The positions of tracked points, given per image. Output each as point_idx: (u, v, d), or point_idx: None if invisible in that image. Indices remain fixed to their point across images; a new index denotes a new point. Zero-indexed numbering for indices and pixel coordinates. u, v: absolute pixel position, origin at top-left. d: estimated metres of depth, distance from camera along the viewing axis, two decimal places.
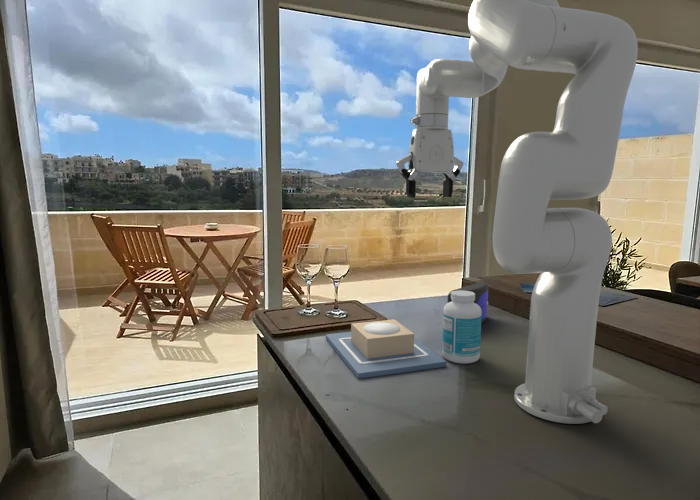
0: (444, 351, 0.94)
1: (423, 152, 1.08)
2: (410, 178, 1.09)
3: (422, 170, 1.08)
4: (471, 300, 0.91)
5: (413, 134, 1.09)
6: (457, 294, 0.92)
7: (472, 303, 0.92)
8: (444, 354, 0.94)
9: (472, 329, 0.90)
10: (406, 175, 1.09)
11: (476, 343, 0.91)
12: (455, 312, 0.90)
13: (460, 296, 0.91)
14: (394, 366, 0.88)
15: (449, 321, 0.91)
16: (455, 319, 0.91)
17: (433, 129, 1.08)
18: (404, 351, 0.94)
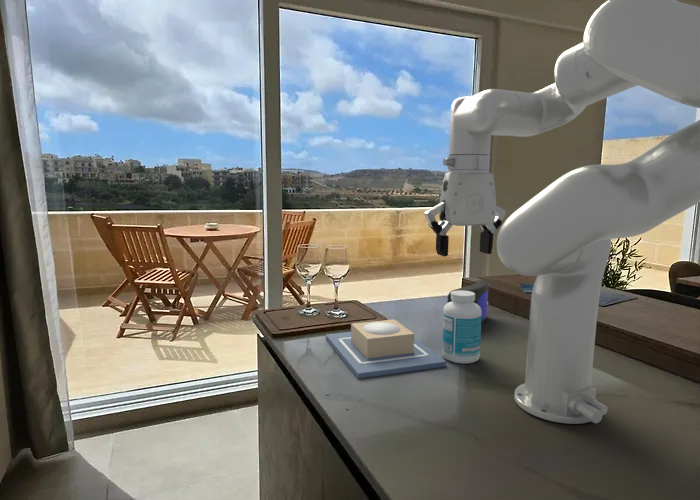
0: (444, 351, 0.94)
1: (458, 202, 0.87)
2: (442, 233, 0.88)
3: (457, 224, 0.87)
4: (471, 300, 0.91)
5: (446, 178, 0.88)
6: (457, 294, 0.92)
7: (472, 303, 0.92)
8: (444, 354, 0.94)
9: (472, 329, 0.90)
10: (437, 229, 0.88)
11: (476, 343, 0.91)
12: (455, 312, 0.90)
13: (460, 296, 0.91)
14: (394, 366, 0.88)
15: (449, 321, 0.91)
16: (455, 319, 0.91)
17: (471, 173, 0.87)
18: (404, 351, 0.94)
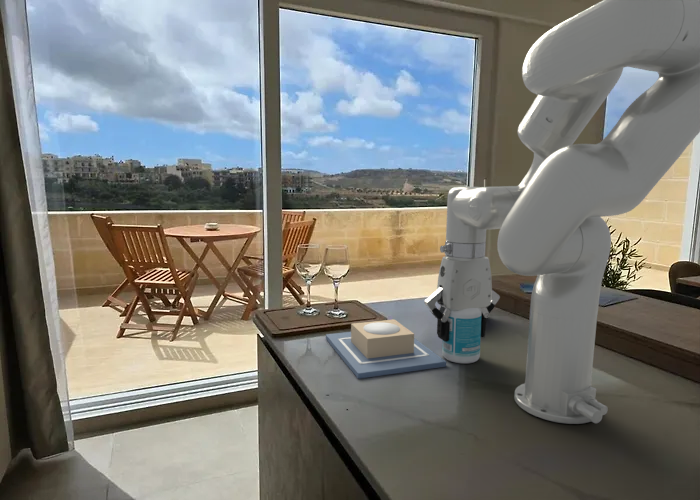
0: (444, 351, 0.94)
1: (455, 288, 0.89)
2: (443, 320, 0.91)
3: (454, 309, 0.90)
4: None
5: (443, 264, 0.91)
6: None
7: None
8: (444, 354, 0.94)
9: (472, 329, 0.90)
10: (438, 316, 0.91)
11: (476, 342, 0.91)
12: (455, 312, 0.90)
13: None
14: (394, 366, 0.88)
15: (449, 321, 0.91)
16: (455, 319, 0.91)
17: (468, 260, 0.89)
18: (404, 351, 0.94)
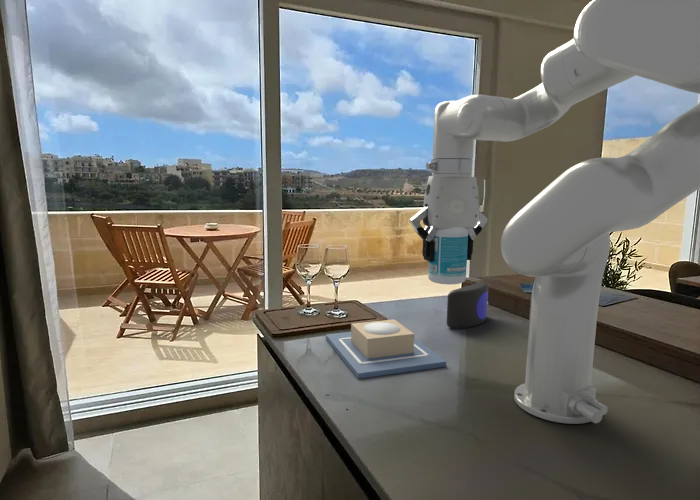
0: (429, 273, 0.92)
1: (440, 205, 0.87)
2: (428, 239, 0.89)
3: (439, 227, 0.88)
4: None
5: (429, 182, 0.89)
6: None
7: None
8: (429, 276, 0.92)
9: (457, 248, 0.89)
10: (423, 235, 0.90)
11: (461, 263, 0.90)
12: (441, 231, 0.89)
13: None
14: (394, 366, 0.88)
15: (435, 241, 0.90)
16: (441, 238, 0.89)
17: (454, 177, 0.87)
18: (404, 351, 0.94)
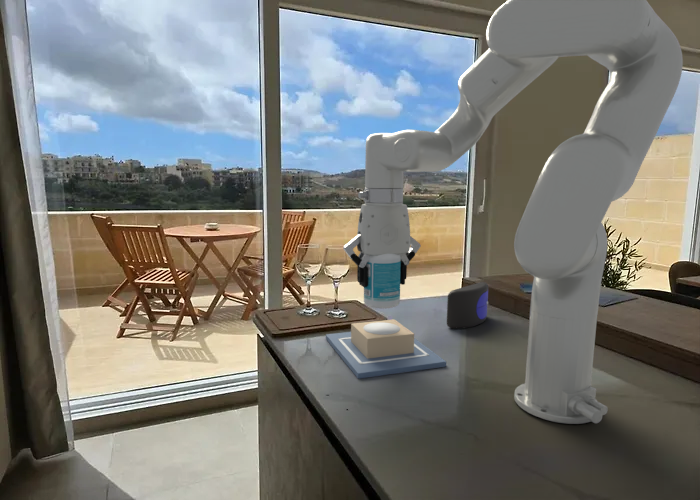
0: (364, 297, 0.95)
1: (372, 233, 0.91)
2: (361, 265, 0.92)
3: (371, 254, 0.91)
4: None
5: (361, 210, 0.92)
6: None
7: None
8: (364, 300, 0.95)
9: (389, 273, 0.92)
10: (356, 261, 0.93)
11: (393, 288, 0.93)
12: (373, 257, 0.92)
13: None
14: (394, 366, 0.88)
15: (368, 267, 0.93)
16: (373, 264, 0.92)
17: (384, 206, 0.91)
18: (404, 351, 0.94)
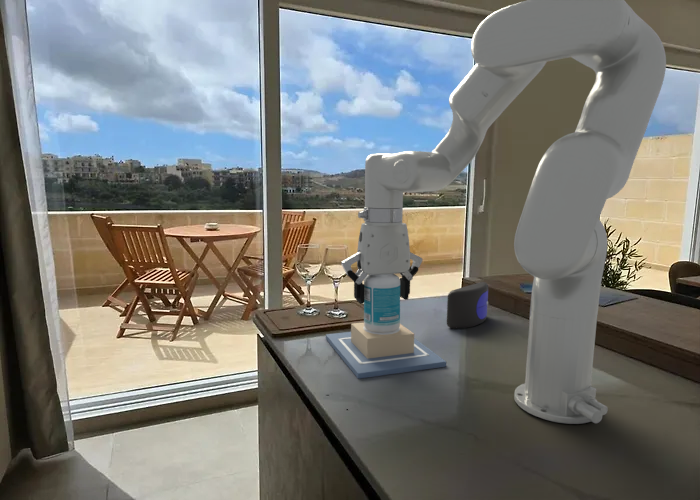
0: (364, 321, 0.96)
1: (372, 253, 0.91)
2: (358, 282, 0.93)
3: (371, 273, 0.92)
4: None
5: (361, 230, 0.93)
6: None
7: (390, 274, 0.94)
8: (364, 324, 0.96)
9: (389, 298, 0.93)
10: (353, 278, 0.93)
11: (393, 312, 0.93)
12: (373, 282, 0.93)
13: None
14: (394, 366, 0.88)
15: (368, 291, 0.94)
16: (373, 289, 0.93)
17: (384, 225, 0.91)
18: (404, 351, 0.94)
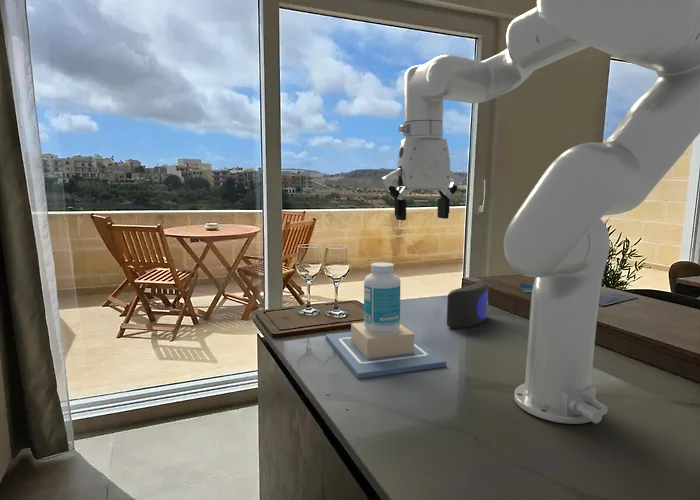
0: (364, 321, 0.96)
1: (414, 166, 0.90)
2: (399, 197, 0.91)
3: (414, 188, 0.91)
4: (389, 271, 0.93)
5: (402, 145, 0.91)
6: (376, 265, 0.94)
7: (390, 274, 0.94)
8: (364, 324, 0.96)
9: (389, 298, 0.93)
10: (395, 194, 0.91)
11: (393, 312, 0.93)
12: (373, 282, 0.93)
13: (378, 267, 0.93)
14: (394, 366, 0.88)
15: (368, 291, 0.94)
16: (373, 289, 0.93)
17: (426, 139, 0.90)
18: (404, 351, 0.94)
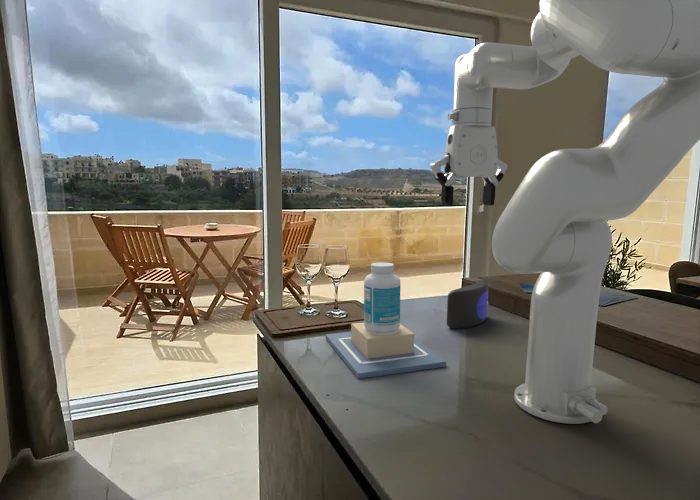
0: (364, 321, 0.96)
1: (462, 153, 0.92)
2: (447, 183, 0.93)
3: (462, 174, 0.93)
4: (389, 271, 0.93)
5: (451, 132, 0.93)
6: (376, 265, 0.94)
7: (390, 274, 0.94)
8: (364, 324, 0.96)
9: (389, 298, 0.93)
10: (442, 180, 0.94)
11: (393, 312, 0.93)
12: (373, 282, 0.93)
13: (378, 267, 0.93)
14: (394, 366, 0.88)
15: (368, 291, 0.94)
16: (373, 289, 0.93)
17: (475, 126, 0.92)
18: (404, 351, 0.94)
